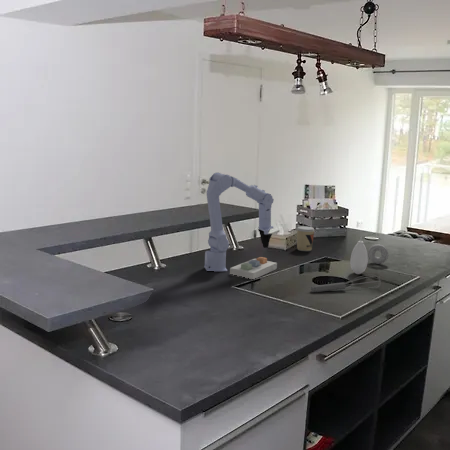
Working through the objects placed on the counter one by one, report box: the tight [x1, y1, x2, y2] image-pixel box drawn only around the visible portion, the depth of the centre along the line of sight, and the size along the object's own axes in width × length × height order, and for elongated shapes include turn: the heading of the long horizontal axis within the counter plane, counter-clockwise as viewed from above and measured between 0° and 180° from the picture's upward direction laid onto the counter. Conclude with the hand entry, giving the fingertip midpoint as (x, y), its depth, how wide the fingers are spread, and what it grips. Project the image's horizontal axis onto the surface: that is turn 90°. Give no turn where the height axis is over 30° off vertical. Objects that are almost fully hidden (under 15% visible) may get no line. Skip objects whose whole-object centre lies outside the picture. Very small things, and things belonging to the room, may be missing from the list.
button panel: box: [229, 258, 278, 280], centre depth 248 cm, size 22×12×3 cm, turn 147°
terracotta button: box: [256, 256, 268, 264], centre depth 253 cm, size 4×4×3 cm
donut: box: [367, 243, 389, 265], centre depth 269 cm, size 10×4×10 cm, turn 65°
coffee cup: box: [296, 225, 316, 252], centre depth 293 cm, size 9×9×12 cm
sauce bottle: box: [349, 236, 369, 275], centre depth 250 cm, size 8×8×18 cm
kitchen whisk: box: [306, 274, 382, 294], centre depth 226 cm, size 6×34×6 cm, turn 107°
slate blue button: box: [248, 259, 260, 267], centre depth 247 cm, size 4×4×3 cm
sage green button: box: [240, 262, 252, 270], centre depth 242 cm, size 4×4×3 cm
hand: (264, 245), depth 260 cm, fingers open, 7 cm apart
